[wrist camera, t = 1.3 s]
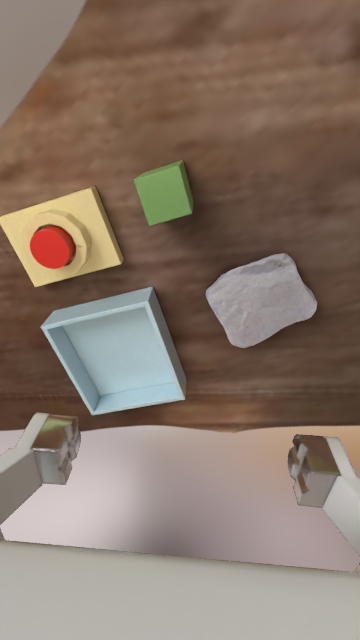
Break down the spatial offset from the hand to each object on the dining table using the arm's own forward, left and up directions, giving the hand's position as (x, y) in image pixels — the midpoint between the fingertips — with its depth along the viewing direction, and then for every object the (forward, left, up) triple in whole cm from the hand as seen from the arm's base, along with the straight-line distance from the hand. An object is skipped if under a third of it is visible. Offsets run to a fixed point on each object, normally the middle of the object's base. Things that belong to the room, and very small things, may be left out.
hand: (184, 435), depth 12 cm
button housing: (+16, -3, -30) cm, 34 cm away
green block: (+2, -5, -30) cm, 31 cm away
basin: (+15, +14, -30) cm, 36 cm away
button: (+16, -3, -27) cm, 32 cm away
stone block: (-5, +10, -30) cm, 32 cm away
